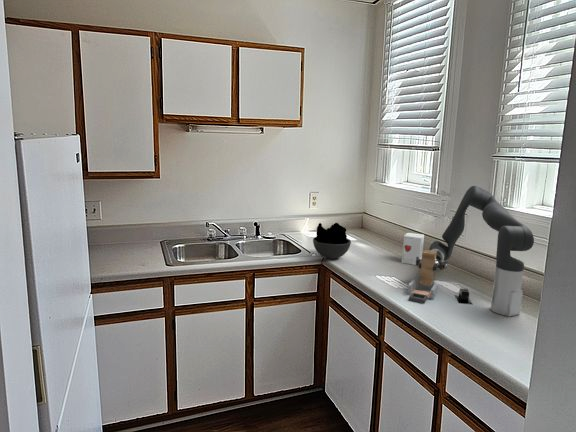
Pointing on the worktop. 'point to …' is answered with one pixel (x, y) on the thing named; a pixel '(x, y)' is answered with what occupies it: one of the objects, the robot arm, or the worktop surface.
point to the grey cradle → (430, 295)
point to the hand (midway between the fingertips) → (427, 267)
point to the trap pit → (418, 298)
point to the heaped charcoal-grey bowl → (331, 241)
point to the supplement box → (412, 248)
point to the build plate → (463, 297)
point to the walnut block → (427, 267)
